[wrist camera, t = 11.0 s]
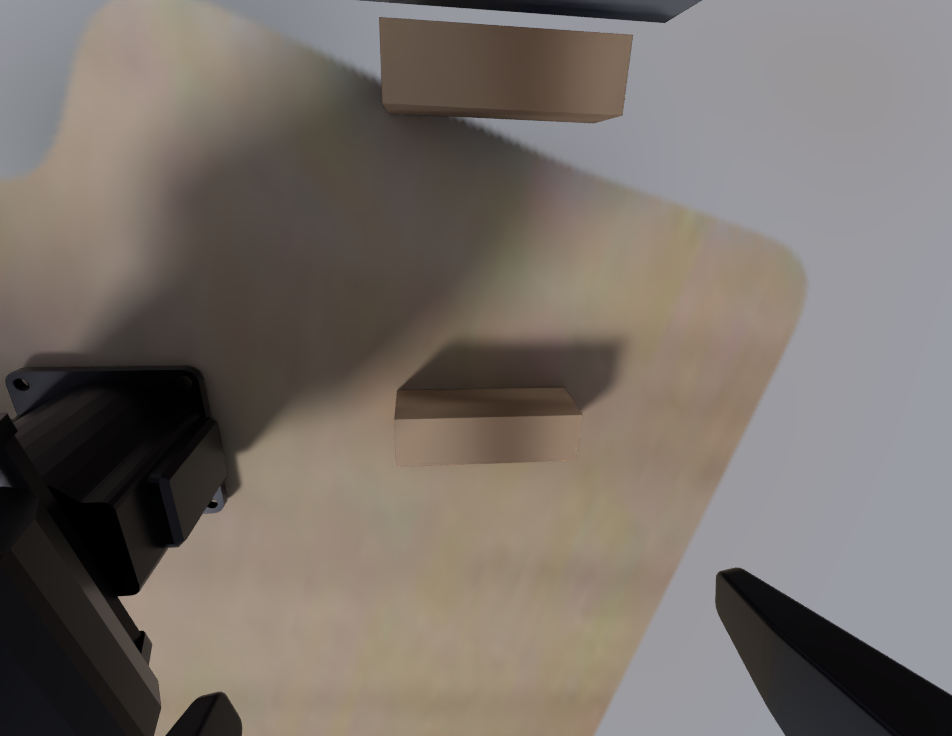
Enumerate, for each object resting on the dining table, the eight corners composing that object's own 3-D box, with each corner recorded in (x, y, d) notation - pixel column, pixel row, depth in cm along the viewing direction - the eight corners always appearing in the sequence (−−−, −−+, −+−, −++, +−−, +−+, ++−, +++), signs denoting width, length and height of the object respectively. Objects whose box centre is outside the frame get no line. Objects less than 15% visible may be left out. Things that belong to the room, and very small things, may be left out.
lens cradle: (398, 433, 20) (396, 466, 18) (385, 40, 15) (379, 17, 13) (559, 428, 21) (577, 460, 19) (601, 55, 16) (632, 35, 13)
